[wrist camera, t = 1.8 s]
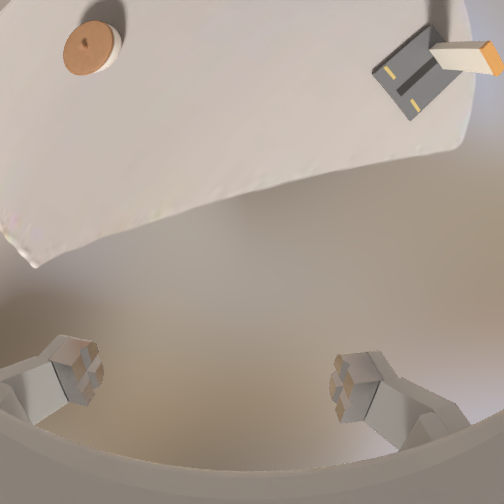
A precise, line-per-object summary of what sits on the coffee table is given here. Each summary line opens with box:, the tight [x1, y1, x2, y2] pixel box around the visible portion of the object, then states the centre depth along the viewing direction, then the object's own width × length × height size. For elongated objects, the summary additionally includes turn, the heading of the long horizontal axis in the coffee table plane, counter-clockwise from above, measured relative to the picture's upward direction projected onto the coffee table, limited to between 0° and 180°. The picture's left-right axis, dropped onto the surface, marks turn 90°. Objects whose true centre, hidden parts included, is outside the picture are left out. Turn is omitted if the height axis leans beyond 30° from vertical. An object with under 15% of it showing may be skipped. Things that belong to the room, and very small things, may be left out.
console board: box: [372, 25, 462, 121], centre depth 39 cm, size 20×12×1 cm, turn 139°
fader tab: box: [429, 41, 504, 76], centre depth 29 cm, size 3×5×17 cm, turn 49°
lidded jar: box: [63, 20, 122, 75], centre depth 35 cm, size 11×11×9 cm
